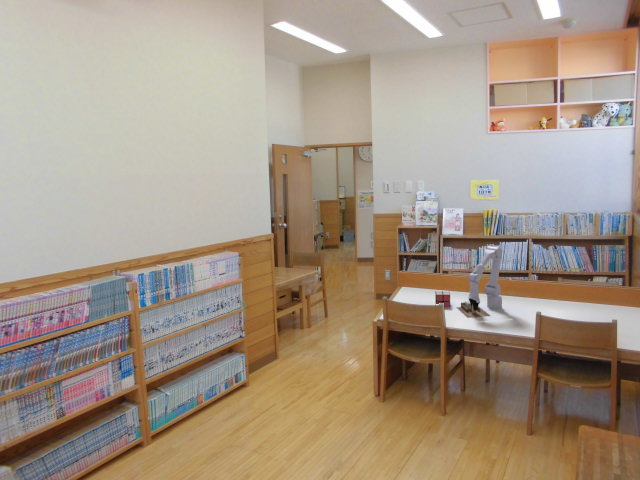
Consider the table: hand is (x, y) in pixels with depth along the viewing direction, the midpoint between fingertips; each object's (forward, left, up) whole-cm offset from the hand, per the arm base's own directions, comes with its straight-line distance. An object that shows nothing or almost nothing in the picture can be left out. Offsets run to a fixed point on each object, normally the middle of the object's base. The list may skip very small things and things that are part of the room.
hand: (474, 309), depth 319 cm
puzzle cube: (+15, -22, -3) cm, 26 cm away
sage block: (0, -5, -2) cm, 5 cm away
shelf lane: (0, -3, -3) cm, 4 cm away
